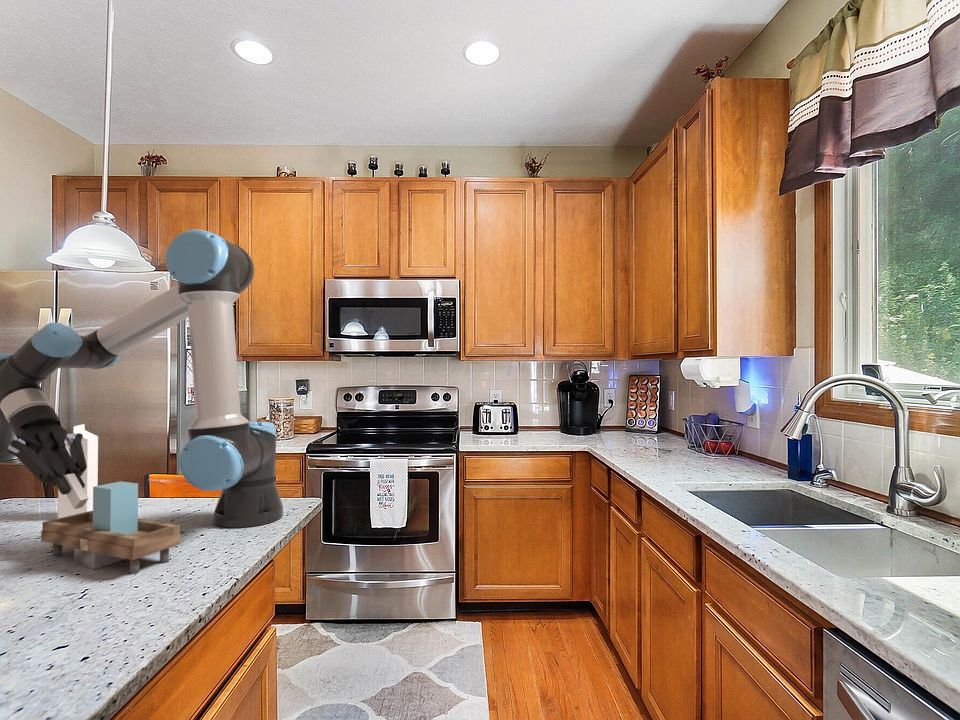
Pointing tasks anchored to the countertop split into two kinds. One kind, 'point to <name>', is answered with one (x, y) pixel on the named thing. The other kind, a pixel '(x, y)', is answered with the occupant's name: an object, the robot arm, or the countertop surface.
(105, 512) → the block
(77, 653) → the countertop surface
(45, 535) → the long brown tray
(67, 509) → the milk
